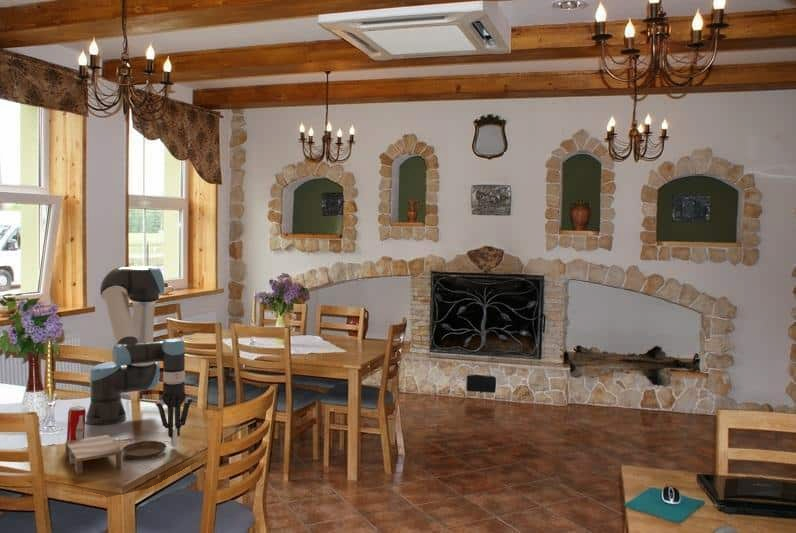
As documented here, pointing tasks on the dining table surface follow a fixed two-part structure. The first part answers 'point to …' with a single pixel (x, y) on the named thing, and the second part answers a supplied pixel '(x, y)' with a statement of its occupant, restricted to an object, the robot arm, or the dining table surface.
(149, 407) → the dining table surface
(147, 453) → the saucer
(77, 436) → the beverage can
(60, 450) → the dining table surface
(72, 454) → the overhang shelf
